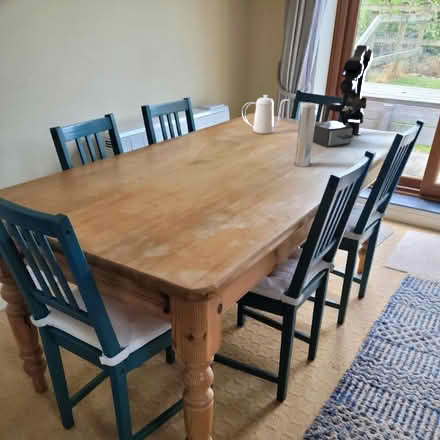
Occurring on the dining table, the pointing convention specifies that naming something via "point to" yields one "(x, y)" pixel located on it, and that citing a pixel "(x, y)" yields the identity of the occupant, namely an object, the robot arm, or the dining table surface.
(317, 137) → the grey sliding drawer unit
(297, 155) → the silver metal cylinder
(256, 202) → the dining table surface
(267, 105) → the coffeepot
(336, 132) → the drawer
